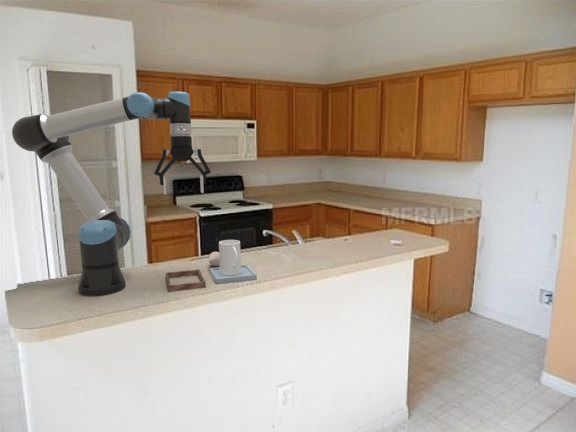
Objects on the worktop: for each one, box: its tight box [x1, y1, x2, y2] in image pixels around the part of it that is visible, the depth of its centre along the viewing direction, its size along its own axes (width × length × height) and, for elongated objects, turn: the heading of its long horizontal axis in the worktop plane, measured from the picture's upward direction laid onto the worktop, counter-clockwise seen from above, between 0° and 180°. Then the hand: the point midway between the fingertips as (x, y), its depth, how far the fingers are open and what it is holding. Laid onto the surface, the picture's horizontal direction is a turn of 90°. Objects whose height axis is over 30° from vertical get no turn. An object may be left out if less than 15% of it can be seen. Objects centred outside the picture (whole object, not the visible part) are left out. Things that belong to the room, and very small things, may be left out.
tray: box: [209, 264, 258, 285], centre depth 162 cm, size 15×15×2 cm
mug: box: [218, 239, 242, 276], centre depth 161 cm, size 12×8×12 cm
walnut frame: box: [165, 268, 207, 293], centre depth 155 cm, size 13×17×2 cm
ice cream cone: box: [207, 251, 220, 267], centre depth 175 cm, size 6×6×15 cm
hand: (183, 193), depth 159 cm, fingers open, 13 cm apart
